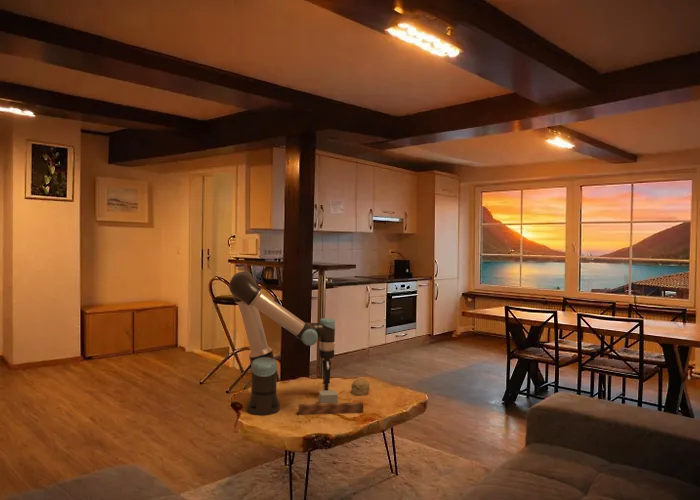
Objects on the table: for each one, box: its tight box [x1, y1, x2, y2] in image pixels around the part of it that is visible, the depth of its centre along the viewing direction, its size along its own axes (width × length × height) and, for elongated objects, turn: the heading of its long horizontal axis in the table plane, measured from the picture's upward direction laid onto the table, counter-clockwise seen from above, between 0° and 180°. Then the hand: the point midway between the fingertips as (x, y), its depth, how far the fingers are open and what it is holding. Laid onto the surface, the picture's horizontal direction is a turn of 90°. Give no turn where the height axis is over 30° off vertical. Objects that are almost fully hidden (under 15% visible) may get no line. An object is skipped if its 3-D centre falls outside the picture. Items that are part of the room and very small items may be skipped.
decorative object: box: [350, 377, 370, 397], centre depth 278 cm, size 9×10×10 cm
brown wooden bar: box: [297, 401, 364, 416], centre depth 249 cm, size 30×3×4 cm, turn 100°
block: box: [318, 389, 339, 404], centre depth 259 cm, size 8×7×6 cm
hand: (325, 395), depth 268 cm, fingers closed
